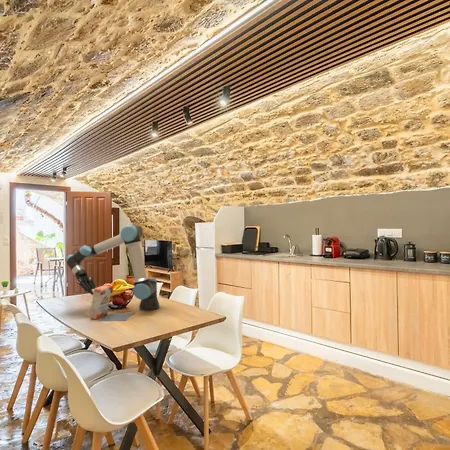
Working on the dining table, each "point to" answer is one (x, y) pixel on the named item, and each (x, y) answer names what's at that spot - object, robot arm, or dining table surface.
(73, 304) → the dining table surface
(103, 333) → the dining table surface
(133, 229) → the robot arm
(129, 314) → the mat
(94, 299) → the cracker box
